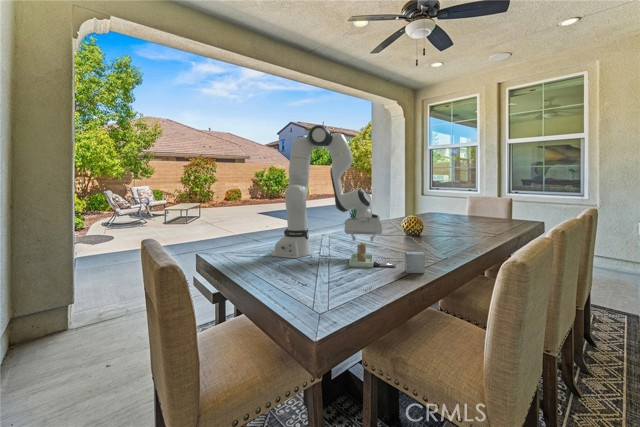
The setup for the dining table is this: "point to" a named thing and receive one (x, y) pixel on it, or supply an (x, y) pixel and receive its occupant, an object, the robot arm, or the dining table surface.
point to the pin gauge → (383, 265)
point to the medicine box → (414, 262)
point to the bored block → (361, 252)
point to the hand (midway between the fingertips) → (362, 240)
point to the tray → (366, 264)
